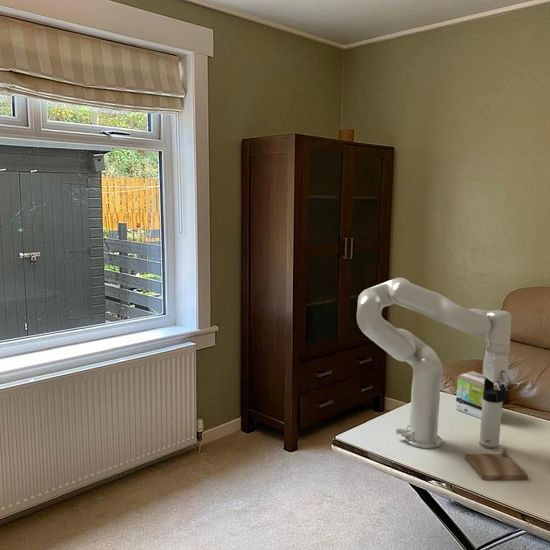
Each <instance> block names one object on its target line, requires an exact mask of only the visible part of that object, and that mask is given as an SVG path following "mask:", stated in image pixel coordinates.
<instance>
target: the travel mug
mask: <svg viewBox="0 0 550 550" xmlns="http://www.w3.org/2000/svg"><path fill="white" fill-rule="evenodd" d="M496 391H497V390H487V391H483V401H482V414H481V419H480V430H479V443H478V444H479V445H480V446H481V448H484V449H487V450H497V449H499V447H500V436H501V424H502V423H501V422H502V421H501V420H502V416H501V411H502V412H503V408H502V402H497V401H496Z"/></svg>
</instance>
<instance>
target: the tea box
mask: <svg viewBox="0 0 550 550" xmlns="http://www.w3.org/2000/svg"><path fill="white" fill-rule="evenodd" d="M484 380H485V379H484V375H483V373H479V372H476V371H473V370H471V371H468V372H466V373H465V372H464V373H462V374H459V375H457V384H456V395H455V397H456V399H455V401H456V402H455V410H457V411H460V412H463V413H466V414H468V415H471V416H473V417H475V418H478V419H480V420H481V414H482V401H483V391H484ZM498 381H501V380H498ZM502 384H503V383H500V386H501V385H502ZM494 390H498V388H497V384H496V382H495V383H494ZM503 405H504V402H502V409H503V408H504V407H503ZM502 416H503V410H502V411H501V417H502Z"/></svg>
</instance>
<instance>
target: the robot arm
mask: <svg viewBox="0 0 550 550" xmlns="http://www.w3.org/2000/svg"><path fill="white" fill-rule="evenodd" d="M394 304H396V305H398V306H401V307H402V308H405V309H408V310H411V311H412V312H416V313H419V314H421V315H424V316H426V317H429V318H431V319H433V320H434V321H437V322H439V323H442V324H443V325H444V324H445V325H446V326H449V327H450V328H453V329H456V330H457V331H460V332H463V333H465V334H468V335H471V336H474V337H483V336H485V347H484V348H485V350H484V355H483V363H482V374H483V375H484V379H485V380H484V391H487V390H494V383H495V382H496V384H497V388H498V390H497V391H496V401H497V402H503V403H504V402H507V394H508V393H507V391H508V388H509V384H510V379H509V353H510V346H511V345H510V344H511V330H512V329H511V328H512V326H511V325H512V315H511V313H510V312H509V311H506V310H500V309H493V310H487V309H482V308H475V307H474V308H472V307H471V308H466V307H463V306H462V305H459V304H457V303H455V302H454V301H452V300H450V299H449V298H448V297H446V296H444V295H442V294H440V293H439V292H435V291H433V290H430V289H428V288H424V287H422V286H420V285H417V284H414V283H413V282H412V283H411V282H410V281H409V280H408V279H406V278H404V277H396V278H392V279H390V280H387V281H385V282H382V283H379V284H376V285H374V286H372V287H368V288H366V289H364V290H363V291H362V292H360V294H359V295H358V299H357V308H356V309H357V310H356V323H357V325H358V328H359V329H360V331H361V332H362V333H363V334H364V336H366V337H367V338H368V339H369V340H370V341H372V342H373V343H375V344H376V345H377V346H378V347H380V348H381V349H382V350H384V352H386V353H387V354H388V355H390V356H391V357H392V358H393V359H395V360H397V361H398V362H405V363H407V364H408V365H410V366H411V368H412V382H411V392H410V393H411V395H410V396H411V399H410V413H409V414H410V416H409V424H407V426H406V427H405V428H395V434H396V435H401V436H400V437H404V440H405V442H406V443H408V444H409V445H411V446H413V447H417V448H421V449H434V448H438V447H440V446H441V445H442V443H443V441H442V438H441V436H440V435H438V434H439V433H438V431H439V429H438V428H439V415H440V401H441V400H440V399H441V398H440V397H441V388H442V387H441V384H442V379H443V371H444V370H443V365H442V362H441V359H440V358H439V356H438V355H437V353H436V351H435V350H434V349H433V348H432V347H431V346H430V345H428V344H426V343H425V342H423V341H422V340H421V339H420V338H419V337H417V336H416V335H414V334H413V333H412V332H410V331H409V330H407V329H405V328H397V327H395V326H394V325H392V324H391V323H390V322H389V321H388V320H386V319H385V318H384V317H383V315H382V313H383V312H382V311H383V309H384V308H386V307H388V306H391V305H394ZM498 380H501V381H498ZM500 383H503V384H502V385H501V386H500Z"/></svg>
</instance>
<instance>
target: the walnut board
mask: <svg viewBox="0 0 550 550" xmlns="http://www.w3.org/2000/svg"><path fill="white" fill-rule="evenodd" d="M464 459H465V460H466V461H467V462H468V464H469V466H471V468H472V469H473V471H474V472H475V473H476V474H477V475H478V476H479V478H480V479H481V480H482V481H490V480H491V481H501V480H502V481H503V480H504V481H506V480H508V481H509V480H510V481H512V480H514V481H517V480H518V481H519V480H522V481H526V480H528V477H529V476H528V474H527V472H526V471H524V469H523V468H522V467H521V466H520V465H519V464H518V463H516V461H515V460H514V459H513V458H512V457H511V456H510V455H509V454H508V448H507V447H503V448H502V451H501V453H465V455H464Z"/></svg>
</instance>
